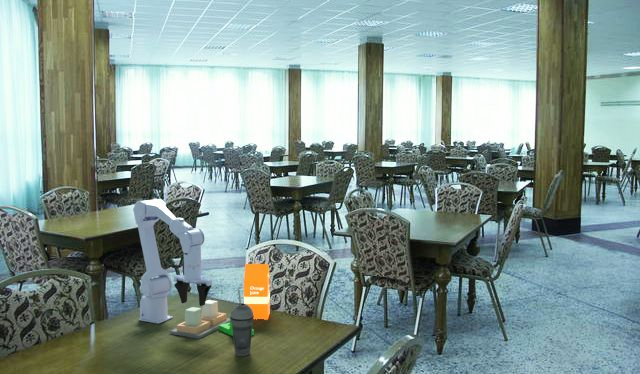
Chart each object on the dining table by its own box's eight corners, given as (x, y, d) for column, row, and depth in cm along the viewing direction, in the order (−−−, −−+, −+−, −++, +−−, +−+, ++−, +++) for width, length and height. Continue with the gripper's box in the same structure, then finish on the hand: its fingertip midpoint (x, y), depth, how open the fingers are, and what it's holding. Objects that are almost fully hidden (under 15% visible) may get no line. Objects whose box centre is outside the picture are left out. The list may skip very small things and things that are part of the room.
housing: (170, 333, 196) (170, 325, 196) (205, 317, 215) (205, 309, 214) (199, 338, 192) (199, 330, 191) (232, 321, 210) (232, 313, 209)
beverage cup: (244, 359, 174) (243, 294, 172) (225, 354, 178) (224, 290, 176) (259, 351, 180) (258, 289, 178) (240, 347, 184) (240, 285, 182)
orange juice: (267, 319, 212) (267, 266, 210) (243, 319, 212) (243, 266, 210) (270, 313, 220) (269, 261, 218) (246, 313, 220) (246, 261, 218)
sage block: (185, 330, 197) (184, 310, 197) (192, 326, 201) (192, 306, 200) (194, 331, 196) (194, 311, 195) (201, 328, 199) (201, 308, 199)
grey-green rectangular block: (202, 321, 206) (201, 302, 206) (208, 318, 210) (208, 299, 209) (211, 323, 204) (211, 304, 204) (217, 320, 208) (217, 301, 208)
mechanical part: (254, 335, 196) (253, 312, 195) (239, 339, 192) (239, 316, 191) (233, 327, 204) (233, 304, 204) (219, 330, 200) (218, 308, 200)
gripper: (167, 265, 196) (168, 304, 197) (203, 269, 190) (203, 309, 191) (181, 261, 202) (181, 299, 204) (215, 265, 196) (215, 304, 197)
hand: (193, 303), depth 198 cm, fingers open, 7 cm apart
